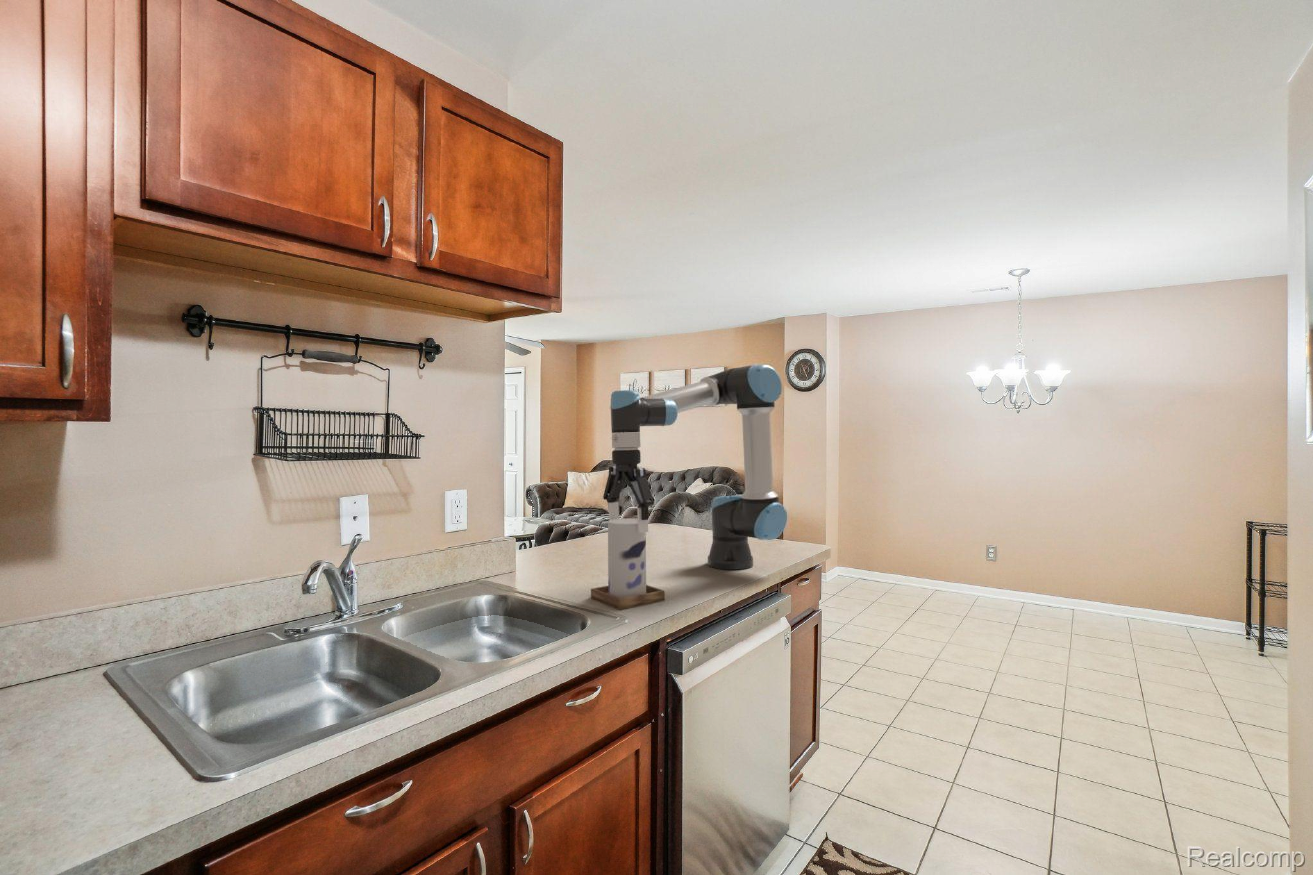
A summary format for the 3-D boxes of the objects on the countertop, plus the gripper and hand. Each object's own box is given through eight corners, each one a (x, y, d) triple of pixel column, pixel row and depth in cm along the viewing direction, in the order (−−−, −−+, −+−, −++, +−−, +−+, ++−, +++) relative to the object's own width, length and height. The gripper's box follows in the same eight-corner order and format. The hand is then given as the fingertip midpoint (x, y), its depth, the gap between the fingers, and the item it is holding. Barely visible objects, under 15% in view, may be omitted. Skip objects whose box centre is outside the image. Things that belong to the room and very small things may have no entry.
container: (629, 603, 151) (629, 524, 150) (600, 597, 157) (599, 521, 156) (653, 594, 159) (653, 519, 158) (625, 589, 165) (624, 516, 164)
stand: (634, 589, 167) (634, 580, 167) (664, 600, 156) (664, 590, 156) (591, 598, 159) (590, 588, 159) (619, 610, 148) (619, 599, 148)
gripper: (589, 449, 165) (591, 525, 165) (641, 450, 145) (644, 537, 145) (612, 448, 170) (614, 522, 170) (666, 449, 150) (668, 533, 150)
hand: (628, 529), depth 158 cm, fingers open, 13 cm apart
